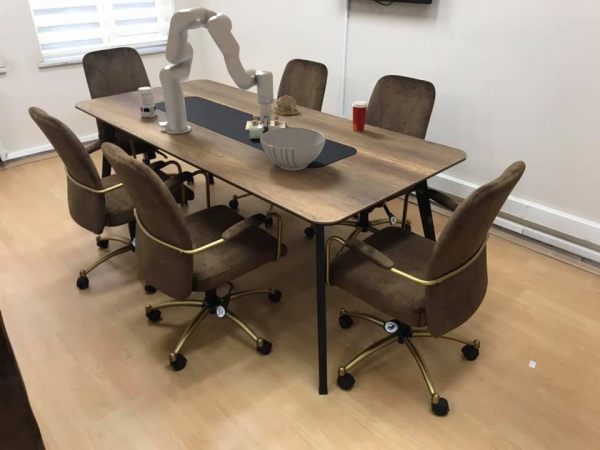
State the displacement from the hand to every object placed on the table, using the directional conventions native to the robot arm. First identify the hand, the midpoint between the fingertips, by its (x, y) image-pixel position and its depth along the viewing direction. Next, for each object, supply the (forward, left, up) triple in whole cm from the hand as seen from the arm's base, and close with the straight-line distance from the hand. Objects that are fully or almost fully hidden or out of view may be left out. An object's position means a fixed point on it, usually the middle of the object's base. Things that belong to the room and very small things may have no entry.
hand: (266, 136), depth 224 cm
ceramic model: (+10, +43, -1) cm, 44 cm away
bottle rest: (-1, +18, -1) cm, 18 cm away
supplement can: (-66, +39, -1) cm, 77 cm away
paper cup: (+46, +11, -1) cm, 47 cm away
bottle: (+2, 0, -1) cm, 2 cm away
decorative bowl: (+12, -34, -1) cm, 36 cm away
